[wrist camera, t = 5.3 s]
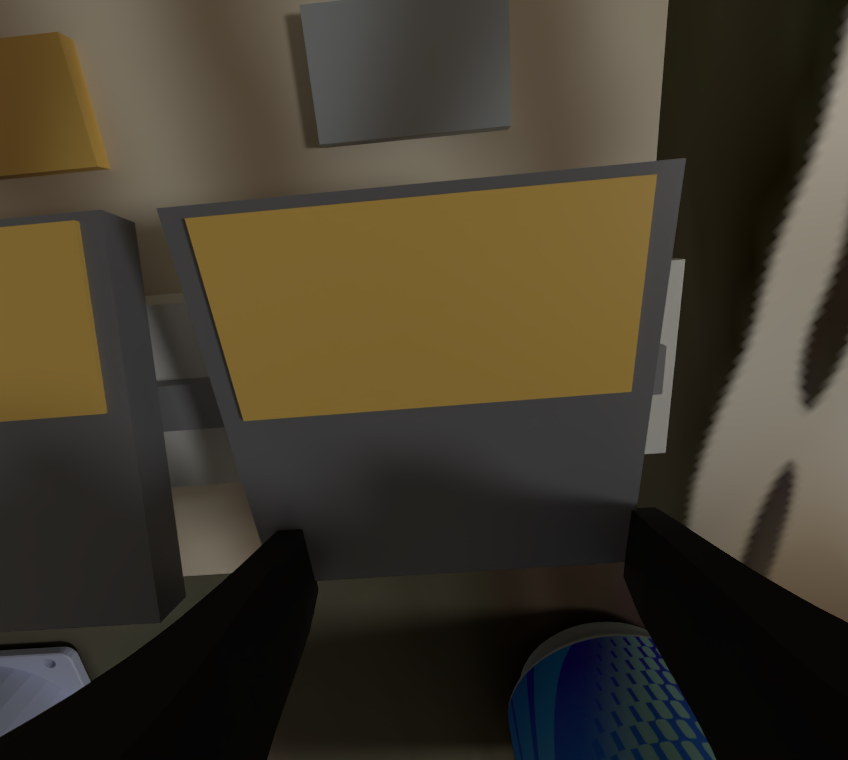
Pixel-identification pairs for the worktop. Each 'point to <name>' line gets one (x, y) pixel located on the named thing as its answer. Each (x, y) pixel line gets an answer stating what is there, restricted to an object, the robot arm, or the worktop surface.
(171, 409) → the switch housing
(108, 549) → the switch
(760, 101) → the worktop surface
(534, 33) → the base
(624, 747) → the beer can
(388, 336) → the switch
